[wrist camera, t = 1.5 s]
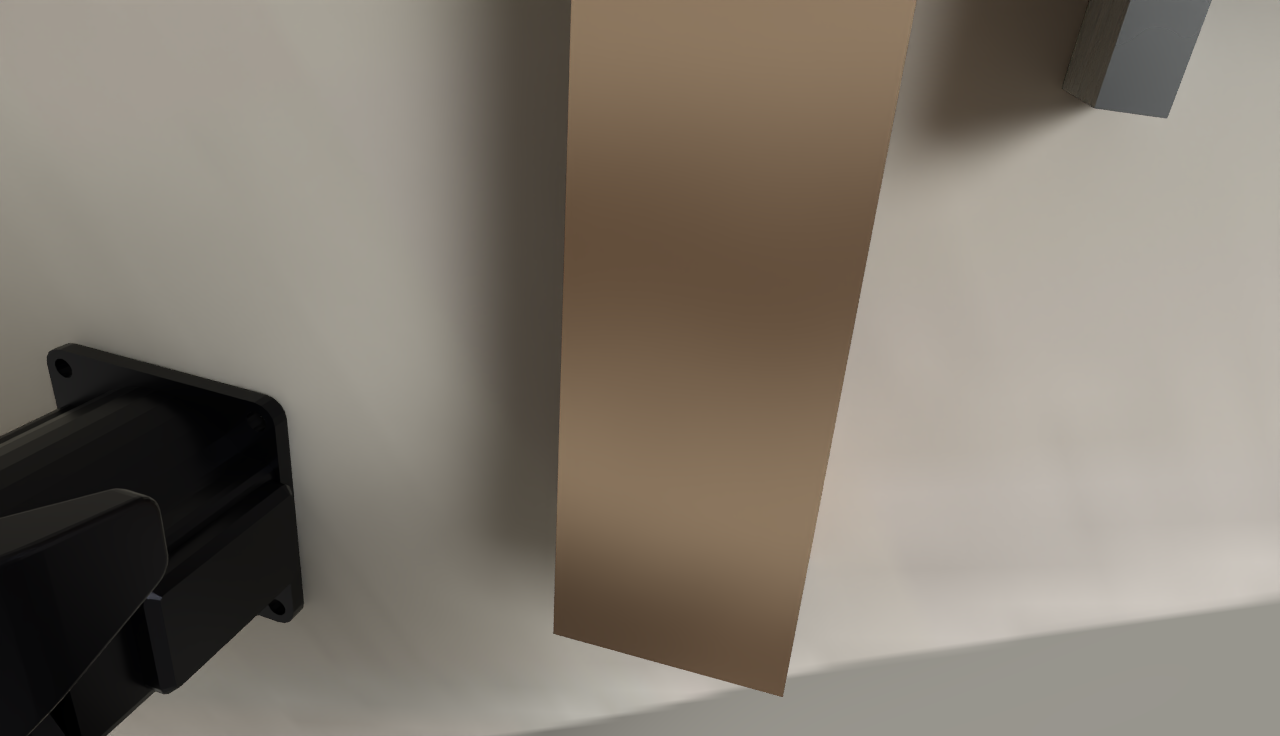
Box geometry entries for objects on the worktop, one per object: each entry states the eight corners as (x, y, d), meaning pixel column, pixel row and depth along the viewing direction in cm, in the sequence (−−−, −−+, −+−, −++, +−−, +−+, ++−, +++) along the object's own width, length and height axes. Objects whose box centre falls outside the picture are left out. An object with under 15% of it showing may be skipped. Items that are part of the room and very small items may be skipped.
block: (809, 552, 17) (782, 697, 13) (623, 509, 18) (553, 633, 14) (973, -303, 11) (1002, -446, 7) (680, -300, 12) (583, -426, 8)
